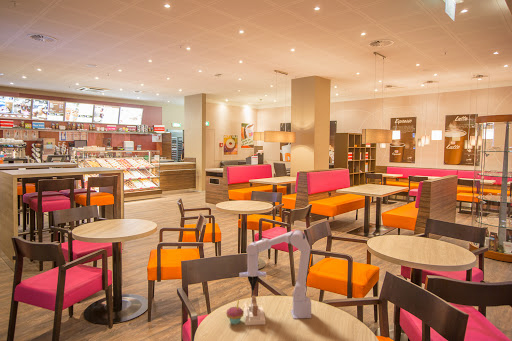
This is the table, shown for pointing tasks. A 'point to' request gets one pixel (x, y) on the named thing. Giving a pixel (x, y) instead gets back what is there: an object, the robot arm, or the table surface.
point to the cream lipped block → (253, 319)
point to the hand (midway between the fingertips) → (252, 289)
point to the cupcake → (235, 314)
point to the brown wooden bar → (254, 305)
